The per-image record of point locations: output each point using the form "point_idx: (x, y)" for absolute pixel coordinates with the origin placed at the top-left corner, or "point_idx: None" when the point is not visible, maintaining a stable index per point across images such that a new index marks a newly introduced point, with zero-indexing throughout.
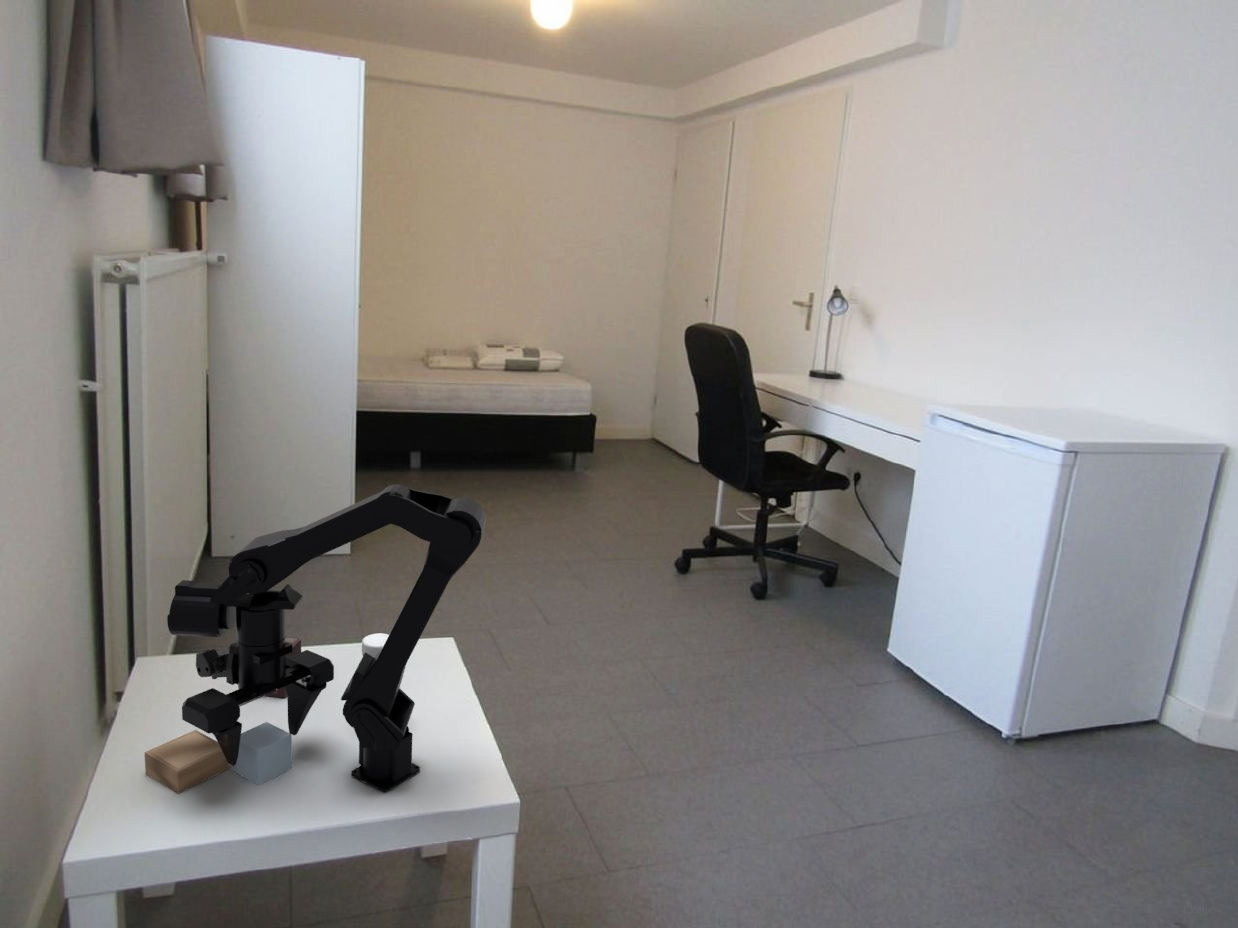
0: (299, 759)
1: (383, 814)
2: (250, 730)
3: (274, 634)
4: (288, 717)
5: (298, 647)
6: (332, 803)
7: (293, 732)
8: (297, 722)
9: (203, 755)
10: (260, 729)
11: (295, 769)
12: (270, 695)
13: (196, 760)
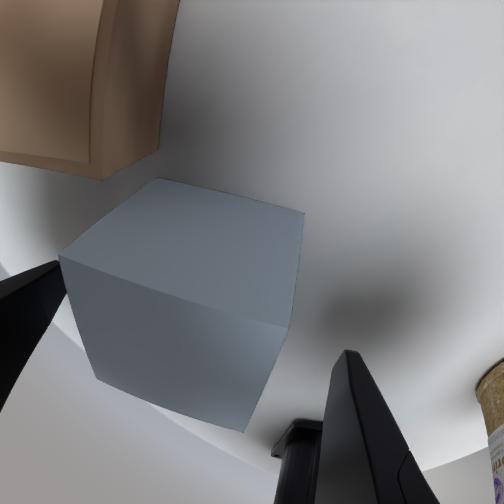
0: (320, 321)
1: (227, 450)
2: (150, 296)
3: None
4: (354, 411)
5: None
6: None
7: (332, 377)
8: (324, 437)
9: (26, 141)
10: (193, 337)
11: None
12: None
13: (6, 151)
